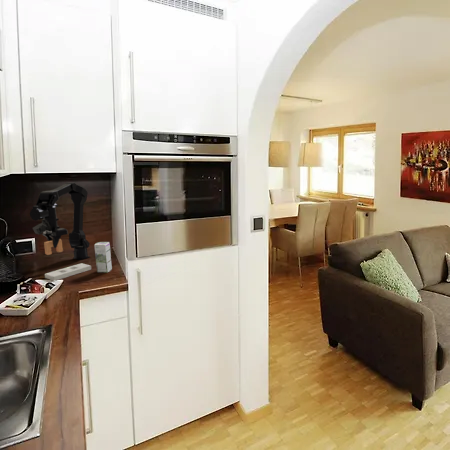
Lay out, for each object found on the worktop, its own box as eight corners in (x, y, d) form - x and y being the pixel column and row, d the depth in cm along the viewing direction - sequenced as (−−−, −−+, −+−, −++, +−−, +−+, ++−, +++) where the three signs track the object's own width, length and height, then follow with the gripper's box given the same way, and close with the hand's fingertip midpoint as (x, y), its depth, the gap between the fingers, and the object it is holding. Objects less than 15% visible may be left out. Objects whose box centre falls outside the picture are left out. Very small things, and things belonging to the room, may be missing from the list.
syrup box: (112, 269, 189) (110, 241, 186) (107, 272, 183) (105, 244, 180) (101, 269, 190) (99, 241, 187) (96, 272, 184) (93, 244, 181)
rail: (81, 266, 194) (81, 263, 194) (91, 269, 189) (90, 265, 189) (45, 277, 178) (44, 273, 177) (54, 280, 173) (53, 276, 173)
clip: (60, 250, 192) (58, 239, 191) (62, 251, 190) (61, 239, 189) (45, 254, 185) (43, 242, 184) (48, 254, 184) (46, 242, 183)
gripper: (24, 217, 183) (28, 248, 186) (44, 221, 173) (48, 253, 176) (45, 214, 192) (49, 243, 195) (66, 217, 182) (70, 248, 185)
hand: (53, 247), depth 187 cm, fingers closed on clip, 2 cm apart
